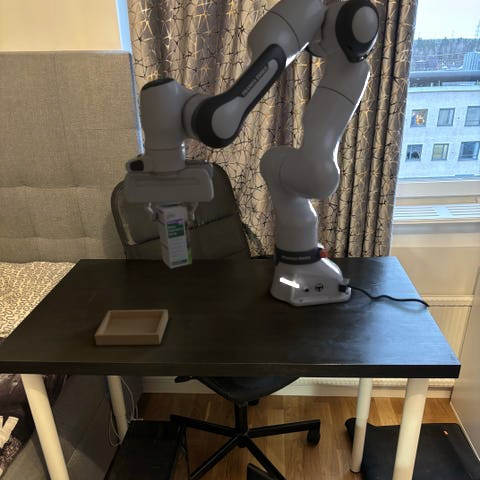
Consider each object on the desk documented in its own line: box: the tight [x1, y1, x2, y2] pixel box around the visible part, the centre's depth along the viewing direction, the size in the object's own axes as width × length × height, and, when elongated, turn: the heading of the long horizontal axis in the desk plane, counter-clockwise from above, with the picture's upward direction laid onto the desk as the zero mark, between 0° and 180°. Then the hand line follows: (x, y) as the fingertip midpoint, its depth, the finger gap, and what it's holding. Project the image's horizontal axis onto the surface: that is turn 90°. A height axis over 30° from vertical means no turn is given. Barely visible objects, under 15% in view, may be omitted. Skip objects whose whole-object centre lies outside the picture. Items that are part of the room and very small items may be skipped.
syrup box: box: [155, 202, 193, 269], centre depth 119 cm, size 6×6×14 cm
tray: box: [94, 309, 169, 346], centre depth 125 cm, size 16×13×3 cm
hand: (172, 220), depth 117 cm, fingers closed on syrup box, 7 cm apart
